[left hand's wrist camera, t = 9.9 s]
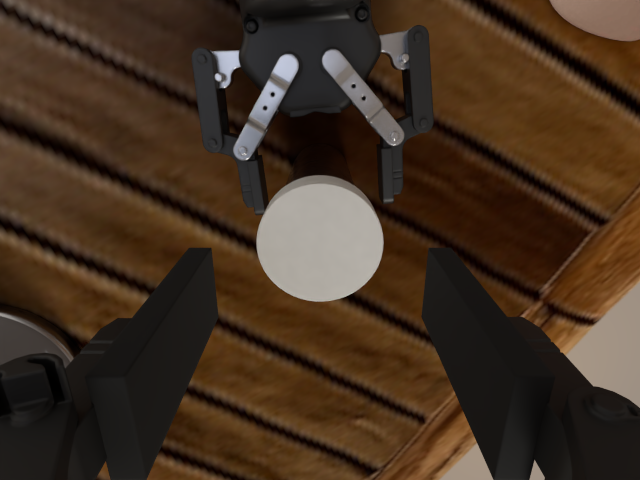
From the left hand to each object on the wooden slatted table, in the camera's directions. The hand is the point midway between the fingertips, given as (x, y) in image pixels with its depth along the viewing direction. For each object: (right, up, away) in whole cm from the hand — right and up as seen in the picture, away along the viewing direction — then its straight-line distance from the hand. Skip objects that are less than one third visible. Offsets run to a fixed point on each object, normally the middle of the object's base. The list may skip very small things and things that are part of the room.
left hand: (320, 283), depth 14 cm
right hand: (0, +4, +14) cm, 14 cm away
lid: (0, +1, +4) cm, 4 cm away
